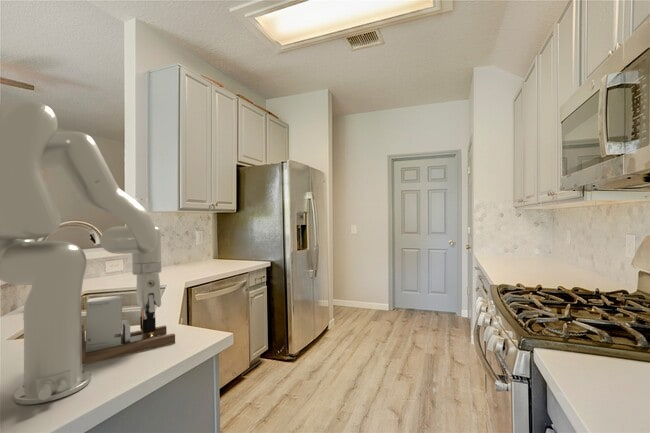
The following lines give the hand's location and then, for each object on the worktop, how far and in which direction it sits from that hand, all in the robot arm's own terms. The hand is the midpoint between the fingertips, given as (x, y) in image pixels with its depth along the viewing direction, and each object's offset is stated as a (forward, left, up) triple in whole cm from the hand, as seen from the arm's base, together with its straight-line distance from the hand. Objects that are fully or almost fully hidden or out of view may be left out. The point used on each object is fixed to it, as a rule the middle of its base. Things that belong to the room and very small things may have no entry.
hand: (147, 329), depth 96 cm
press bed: (0, +6, -4) cm, 7 cm away
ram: (0, +2, -4) cm, 4 cm away
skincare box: (0, +11, -4) cm, 11 cm away
